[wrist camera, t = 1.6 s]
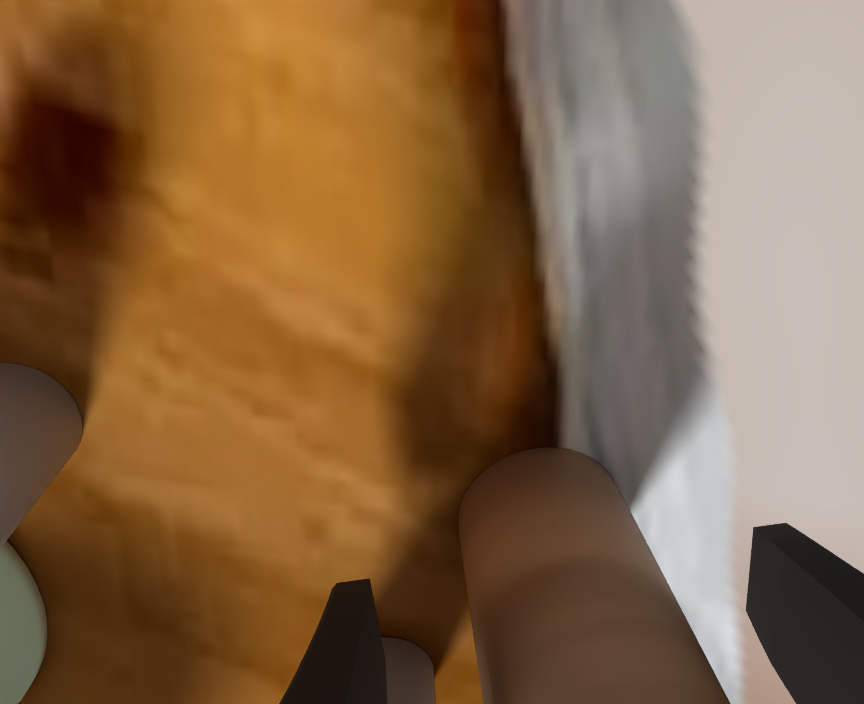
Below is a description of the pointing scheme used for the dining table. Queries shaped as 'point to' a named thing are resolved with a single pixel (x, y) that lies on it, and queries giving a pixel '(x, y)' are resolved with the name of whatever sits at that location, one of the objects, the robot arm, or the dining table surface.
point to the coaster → (19, 627)
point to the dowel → (571, 591)
